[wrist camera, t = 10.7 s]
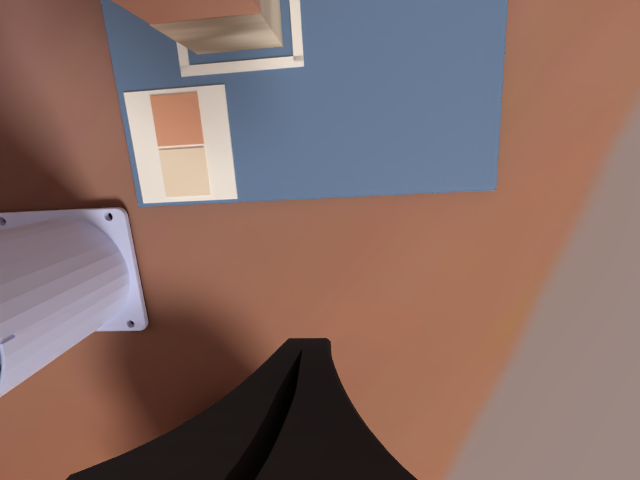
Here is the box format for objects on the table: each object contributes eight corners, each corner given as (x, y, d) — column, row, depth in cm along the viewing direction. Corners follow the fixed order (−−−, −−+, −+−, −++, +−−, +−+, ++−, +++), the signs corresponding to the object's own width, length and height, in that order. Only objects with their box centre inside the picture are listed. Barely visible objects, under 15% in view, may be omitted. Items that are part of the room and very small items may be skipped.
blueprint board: (144, 205, 21) (136, 207, 21) (94, -70, 18) (83, -80, 17) (491, 188, 19) (497, 190, 19) (510, -125, 16) (518, -139, 15)
